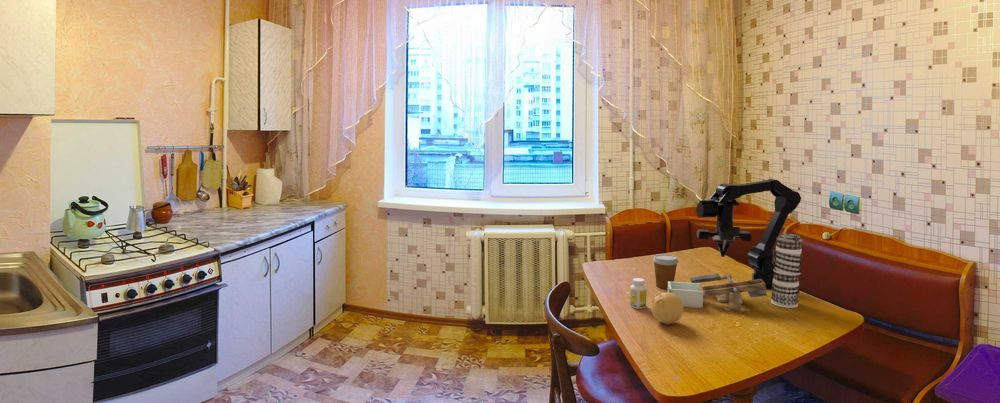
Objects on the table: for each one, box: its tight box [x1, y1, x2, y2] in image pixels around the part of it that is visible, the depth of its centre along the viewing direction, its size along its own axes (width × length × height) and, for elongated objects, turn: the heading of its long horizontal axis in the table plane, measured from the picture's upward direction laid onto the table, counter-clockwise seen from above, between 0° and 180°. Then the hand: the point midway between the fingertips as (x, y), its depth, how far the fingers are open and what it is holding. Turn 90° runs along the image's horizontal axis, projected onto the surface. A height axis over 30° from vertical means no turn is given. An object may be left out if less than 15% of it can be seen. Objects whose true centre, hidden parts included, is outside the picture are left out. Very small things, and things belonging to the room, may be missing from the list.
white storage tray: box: [666, 281, 704, 309], centre depth 180 cm, size 11×9×6 cm
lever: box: [689, 273, 768, 298], centre depth 180 cm, size 23×19×5 cm
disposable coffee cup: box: [652, 253, 679, 290], centre depth 197 cm, size 10×10×12 cm
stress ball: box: [650, 291, 685, 325], centre depth 161 cm, size 10×10×10 cm
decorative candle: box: [770, 232, 804, 309], centre depth 176 cm, size 9×9×25 cm
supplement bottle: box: [629, 277, 647, 310], centre depth 176 cm, size 5×5×10 cm
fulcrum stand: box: [716, 282, 745, 312], centre depth 177 cm, size 8×13×6 cm, turn 165°
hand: (722, 256), depth 193 cm, fingers closed
